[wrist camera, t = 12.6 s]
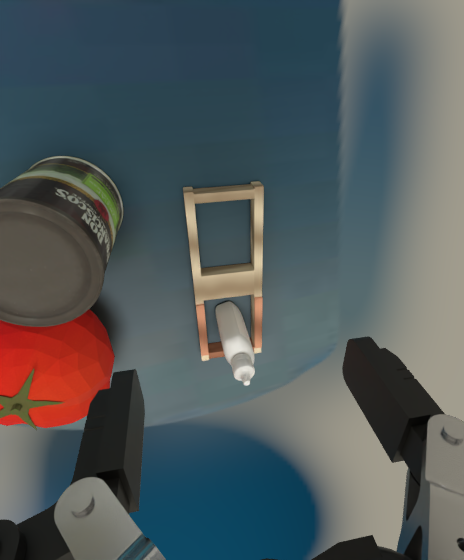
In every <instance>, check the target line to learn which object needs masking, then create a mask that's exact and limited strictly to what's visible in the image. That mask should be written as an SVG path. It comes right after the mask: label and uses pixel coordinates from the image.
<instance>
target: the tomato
mask: <svg viewBox="0 0 464 560" xmlns="http://www.w3.org/2000/svg"><path fill="white" fill-rule="evenodd" d="M114 357H115V356H114V353H113V350H112V346H111V343H110V340H109V337H108V334H107V331H106V328H105V327H104V326H103V324H102V323H101V321H100V320H99V319H98V317H97V316H96V315H95V314H94V313H93V312H92V311H91V310H90V309H89V310H87V311H86V312H85V313H84V314H82V315H81V316H79V317H77V318H76V319H74V320H72V321H69V322H67V323H64V324H60V325H55V326H48V327H30V326H22V325H16V324H12V323H8V322H5V321H2V320H0V424H2V425H6V426H8V425H14V424H21V423H24V424H29V425H30V426H32V427H33V428H35V429H37V428H36V426H38V427H43V428H48V427H55V426H61V425H66V424H70V423H73V422H75V421H78V420H80V419H82V418H83V417H85V416H87V414H88V410H89V406H90V403H91V401H92V400H93V398H94V397H95V395H96V394H97V392H98V391H99V390H102V389H109V388H110V378H111V374H112V368H113V362H114Z"/></svg>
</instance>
